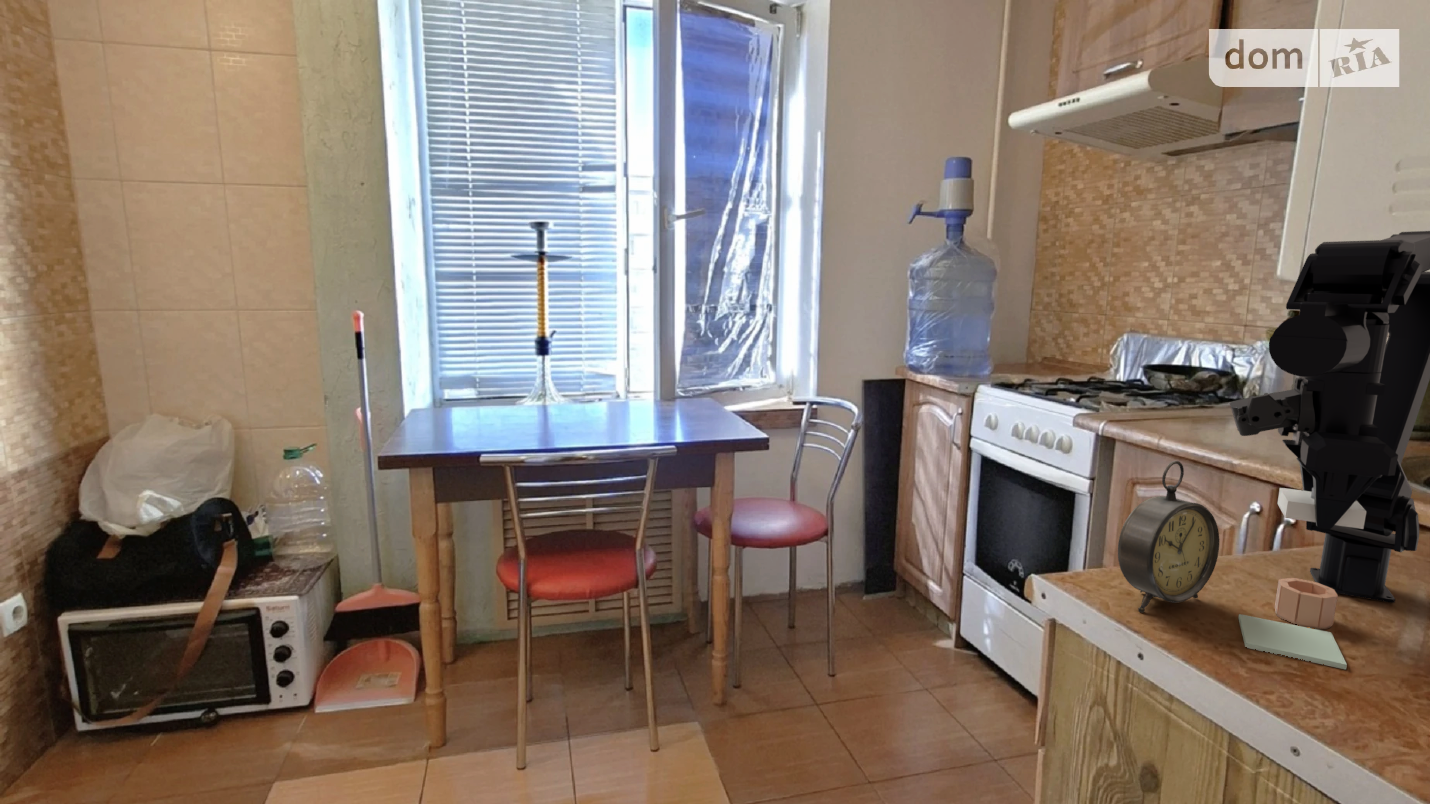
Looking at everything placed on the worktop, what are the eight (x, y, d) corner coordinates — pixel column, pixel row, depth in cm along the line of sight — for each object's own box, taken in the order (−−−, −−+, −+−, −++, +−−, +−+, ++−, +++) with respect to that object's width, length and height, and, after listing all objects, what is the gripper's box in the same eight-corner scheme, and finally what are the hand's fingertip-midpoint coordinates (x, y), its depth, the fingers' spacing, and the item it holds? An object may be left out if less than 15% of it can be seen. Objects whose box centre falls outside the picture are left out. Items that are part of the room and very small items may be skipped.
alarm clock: (1146, 621, 74) (1164, 472, 71) (1101, 599, 79) (1116, 459, 76) (1215, 603, 78) (1235, 461, 75) (1169, 584, 83) (1185, 450, 80)
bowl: (1272, 604, 78) (1276, 575, 77) (1326, 615, 76) (1331, 584, 75) (1278, 622, 74) (1283, 590, 73) (1335, 633, 72) (1340, 601, 71)
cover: (1277, 503, 77) (1281, 478, 76) (1350, 513, 73) (1354, 487, 73) (1285, 517, 72) (1289, 491, 71) (1363, 529, 69) (1368, 501, 68)
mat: (1238, 618, 75) (1238, 613, 75) (1330, 636, 71) (1331, 632, 71) (1245, 647, 69) (1246, 642, 69) (1346, 669, 65) (1346, 664, 65)
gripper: (1233, 356, 82) (1215, 485, 85) (1252, 374, 66) (1229, 532, 69) (1359, 362, 76) (1337, 501, 79) (1413, 383, 61) (1382, 555, 63)
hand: (1317, 519), depth 73 cm, fingers closed on cover, 5 cm apart
